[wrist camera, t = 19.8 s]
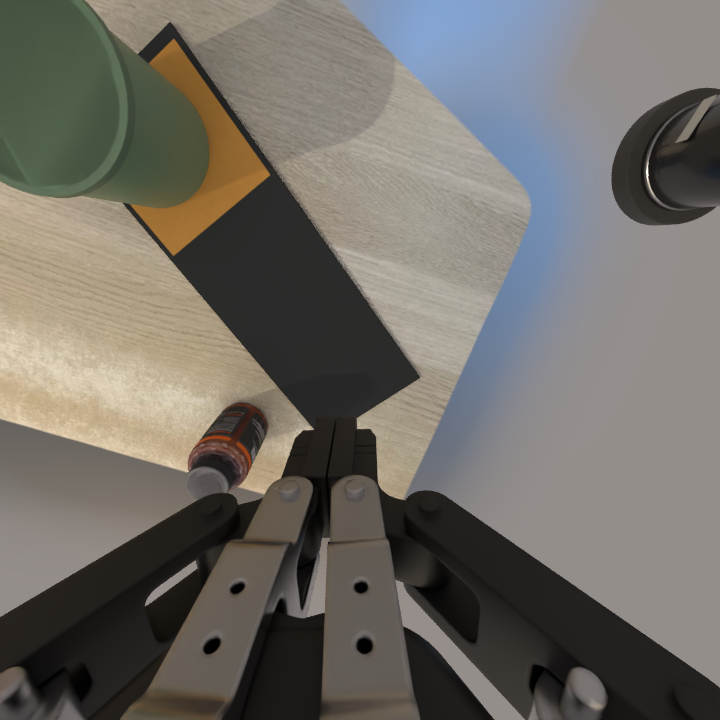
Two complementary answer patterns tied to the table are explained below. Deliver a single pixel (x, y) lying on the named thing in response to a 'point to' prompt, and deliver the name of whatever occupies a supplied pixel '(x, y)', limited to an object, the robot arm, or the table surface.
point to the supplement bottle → (226, 451)
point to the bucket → (91, 112)
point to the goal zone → (226, 160)
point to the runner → (288, 293)
